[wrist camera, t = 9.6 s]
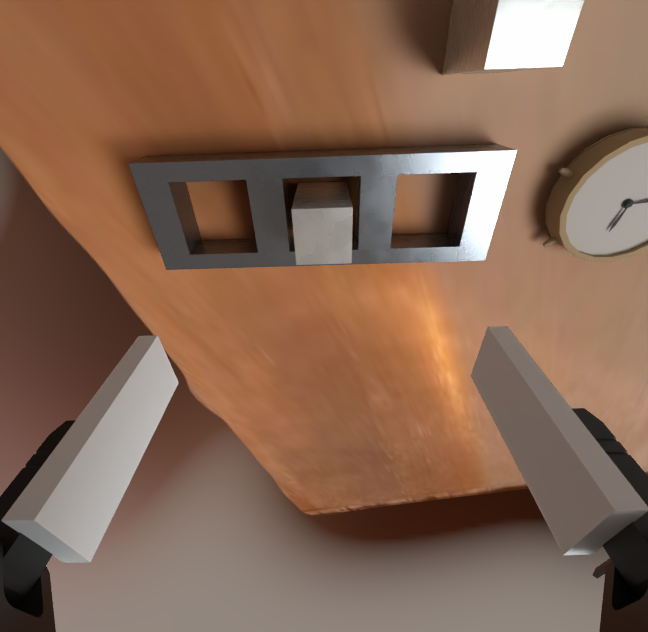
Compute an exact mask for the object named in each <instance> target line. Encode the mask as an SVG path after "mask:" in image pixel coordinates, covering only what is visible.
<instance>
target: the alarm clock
mask: <svg viewBox="0 0 648 632" xmlns="http://www.w3.org/2000/svg"><path fill="white" fill-rule="evenodd" d="M559 172H560V173H561V175H560V177H559V178H558V180H557V181H556V183H555V184H554V186H553V187H552V190H551V193H550V195H549V198H548V201H547V204H546V209H545V224H546V227H547V229H548V232H549V234H550V236H551V237H552V238H550V239H548V240H547V241H546V242H544V243H543V246H544V247H546V246H549V245H552V244H554V243H556V242H558V243H559V244H560V245H561V246H564V247H565V248H566V249H567V250H568V251H569V252H571V253H572V254H573V255H574V256H575V257H578V258H581V259H584V260H587V261H590V262H612V261H616V260H620V259H624V258H629V257H632V256H635V255H637V254H639V253H641V252H643V251H646V250H648V127H644V128H629V129H626V130H623V131H620V132H617V133H614V134H611V135H608V136H606V137H604V138H602V139H601V140H599V141H597V142H596V143H594V144H592V145H591V146H589V147H588V148H586V149H585V150H583V151H582V152H581V153H580V154H579V155H578V156H577V157H576V158H575V159H574V160H573V161H572V162H571V163H570V164H569V165H568V166H567V167H566V168H563V167H562V168H560V169H559Z"/></svg>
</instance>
